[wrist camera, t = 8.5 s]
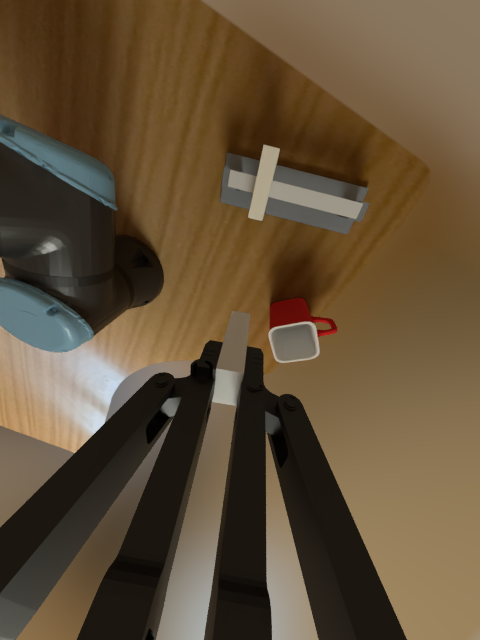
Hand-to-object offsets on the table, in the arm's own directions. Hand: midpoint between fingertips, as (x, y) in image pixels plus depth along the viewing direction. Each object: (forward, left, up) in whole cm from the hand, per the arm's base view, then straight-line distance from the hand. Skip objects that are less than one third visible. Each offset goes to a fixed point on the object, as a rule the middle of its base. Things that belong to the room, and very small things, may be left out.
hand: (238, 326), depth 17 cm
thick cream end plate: (-1, +10, -26) cm, 28 cm away
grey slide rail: (+3, +11, -28) cm, 30 cm away
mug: (+12, -10, -28) cm, 32 cm away
